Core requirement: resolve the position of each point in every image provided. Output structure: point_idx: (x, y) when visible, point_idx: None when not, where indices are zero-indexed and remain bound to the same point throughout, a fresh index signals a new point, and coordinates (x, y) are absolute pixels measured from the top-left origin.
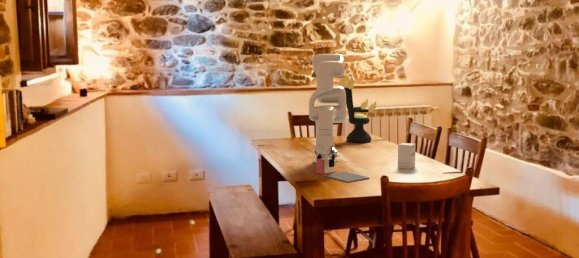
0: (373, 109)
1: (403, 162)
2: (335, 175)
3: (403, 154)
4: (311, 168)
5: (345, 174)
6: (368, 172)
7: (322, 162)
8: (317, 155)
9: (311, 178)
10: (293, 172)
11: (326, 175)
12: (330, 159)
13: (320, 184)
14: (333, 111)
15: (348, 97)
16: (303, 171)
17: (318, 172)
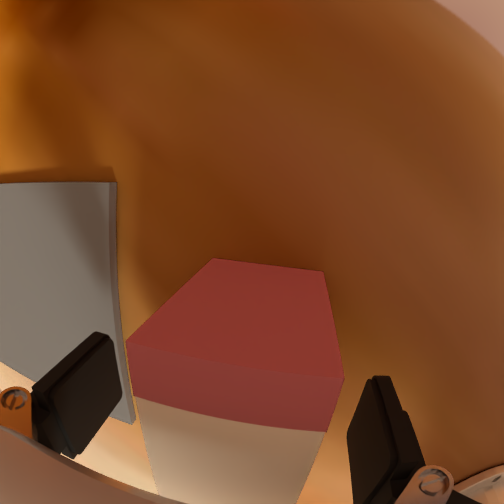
0: None
1: None
2: (49, 259)
3: None
4: (475, 368)
5: (48, 342)
6: (86, 463)
7: (147, 326)
8: (410, 490)
9: (138, 25)
10: (493, 91)
11: (84, 193)
12: (38, 399)
13: (11, 19)
14: None
15: None
16: (469, 204)
17: (282, 268)
